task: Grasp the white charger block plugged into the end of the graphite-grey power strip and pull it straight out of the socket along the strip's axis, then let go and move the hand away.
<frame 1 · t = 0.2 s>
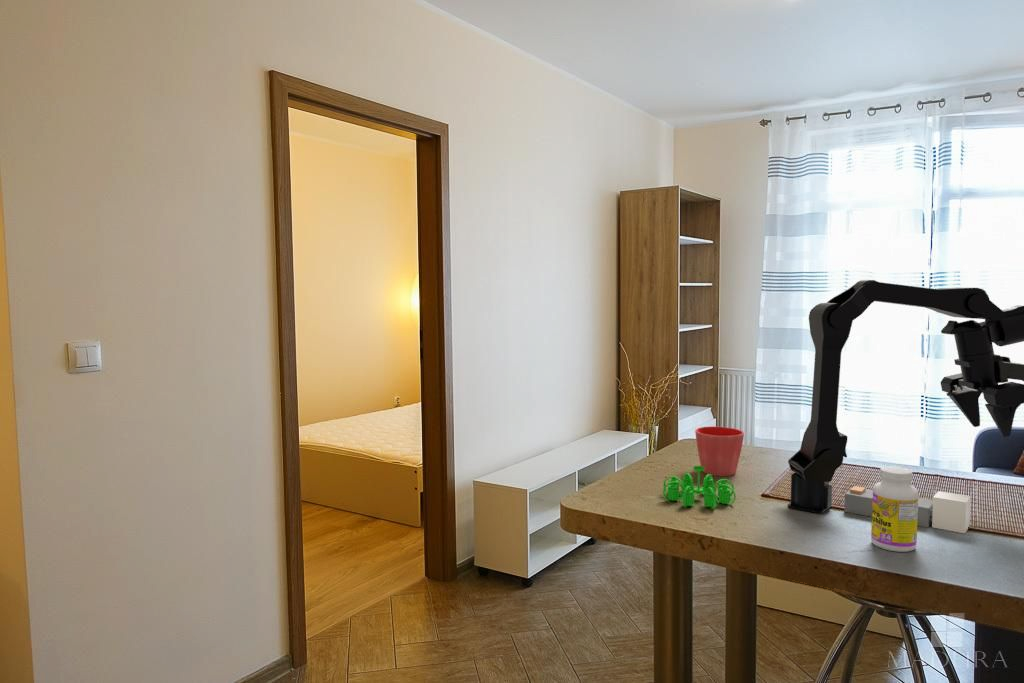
hand: (991, 431, 135), 15 cm above the table, tool pointing down, fingers open, 9 cm apart
power strip: (888, 515, 133), on the table
chandelier: (698, 501, 143), on the table
supplement bottle: (893, 547, 117), on the table
charger: (942, 510, 127), point 3 cm above the table, slide at 0.0 cm
flower pot: (718, 472, 164), on the table
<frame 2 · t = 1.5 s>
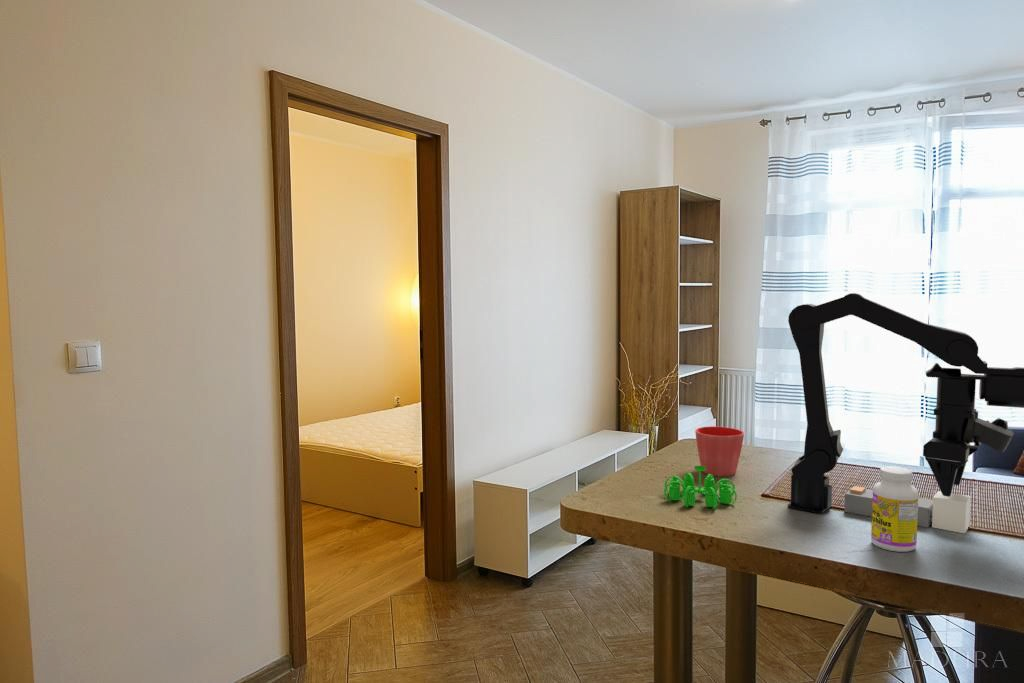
hand: (951, 490, 126), 7 cm above the table, tool pointing down, fingers open, 9 cm apart
nothing on the table moved.
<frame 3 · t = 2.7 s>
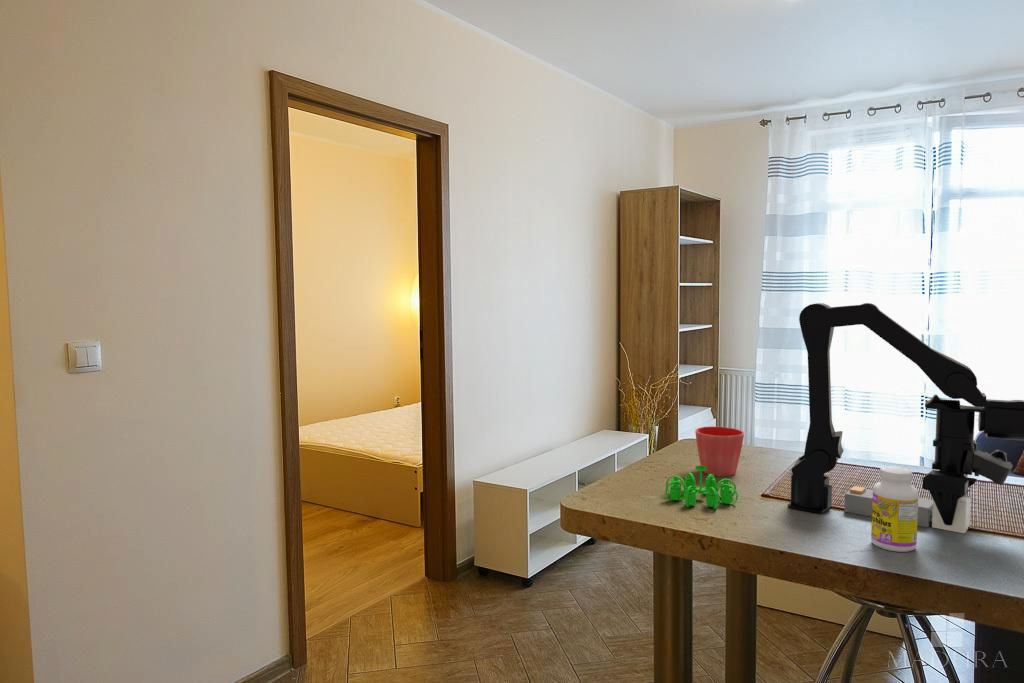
hand: (950, 521, 126), 1 cm above the table, tool pointing down, fingers closed on charger, 5 cm apart
charger: (942, 510, 127), point 3 cm above the table, slide at 0.0 cm, touching gripper
everything else where it was.
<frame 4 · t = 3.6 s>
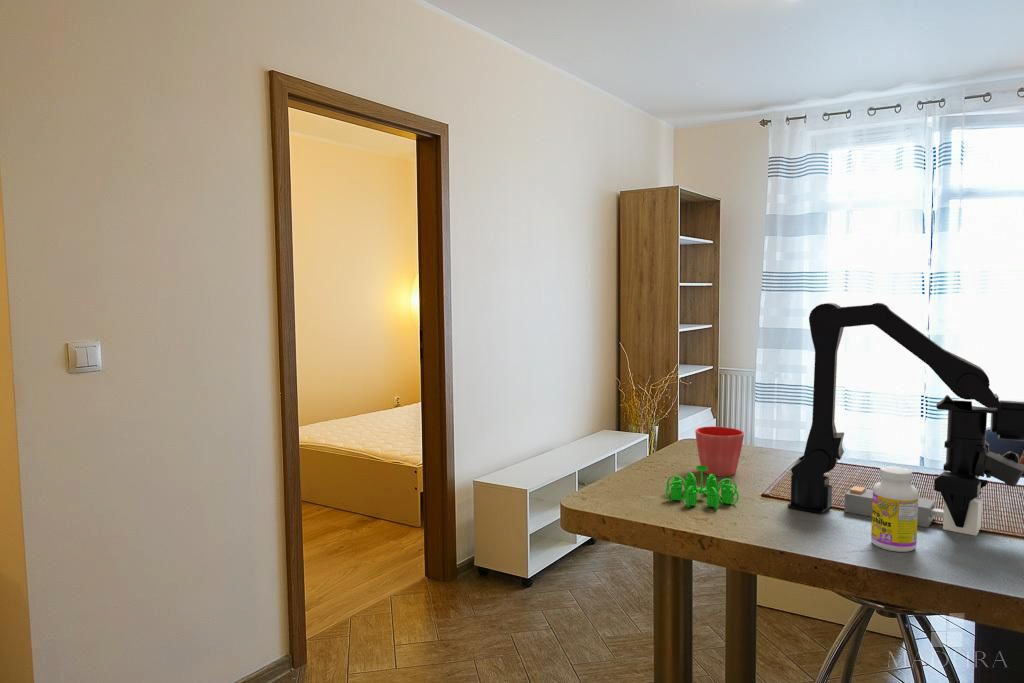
hand: (962, 523, 125), 1 cm above the table, tool pointing down, fingers closed on charger, 5 cm apart
charger: (954, 512, 126), point 3 cm above the table, slide at 1.7 cm, touching gripper
everything else where it was.
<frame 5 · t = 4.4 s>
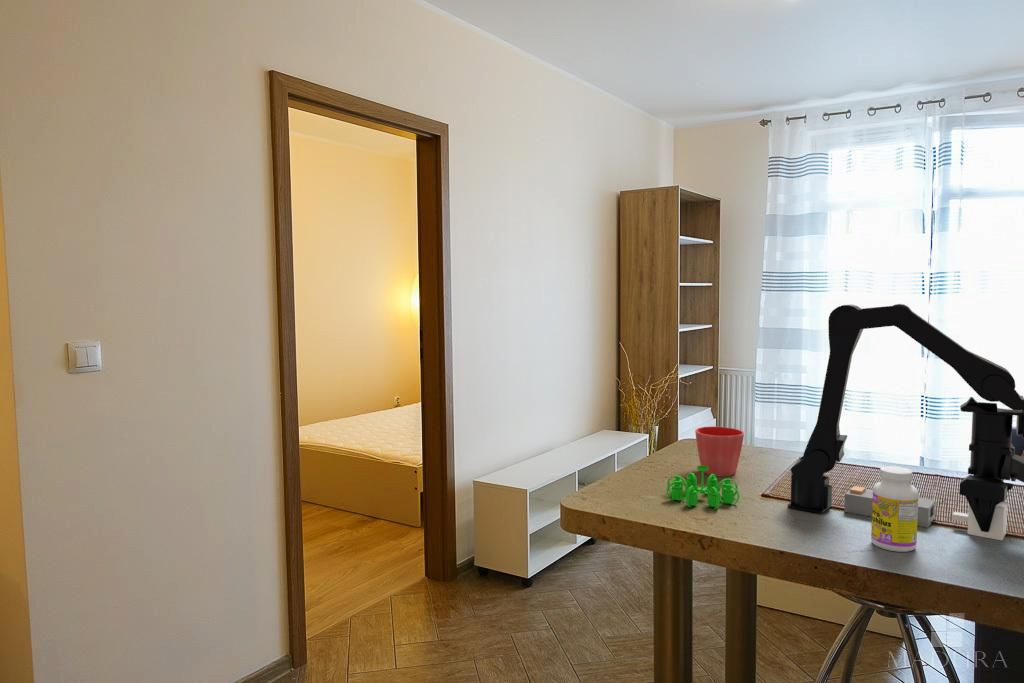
hand: (987, 527, 122), 1 cm above the table, tool pointing down, fingers closed on charger, 5 cm apart
charger: (978, 516, 123), point 3 cm above the table, slide at 5.4 cm, touching gripper
everything else where it was.
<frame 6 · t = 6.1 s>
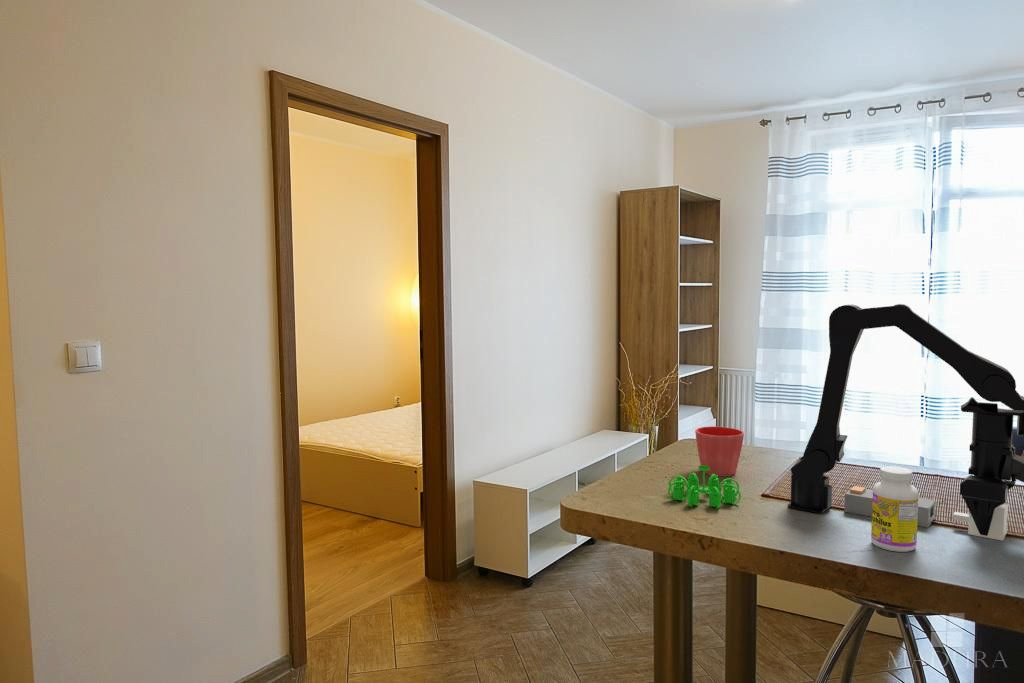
hand: (987, 527, 122), 1 cm above the table, tool pointing down, fingers open, 9 cm apart
charger: (979, 516, 123), point 3 cm above the table, slide at 5.5 cm
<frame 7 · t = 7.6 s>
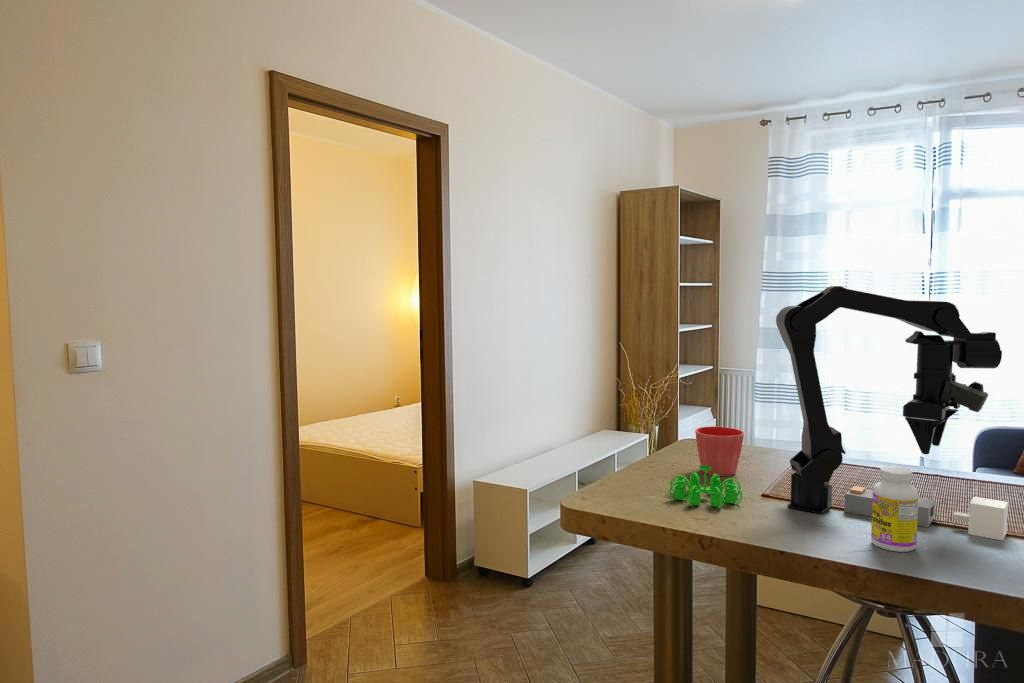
hand: (930, 449, 134), 12 cm above the table, tool pointing down, fingers open, 9 cm apart
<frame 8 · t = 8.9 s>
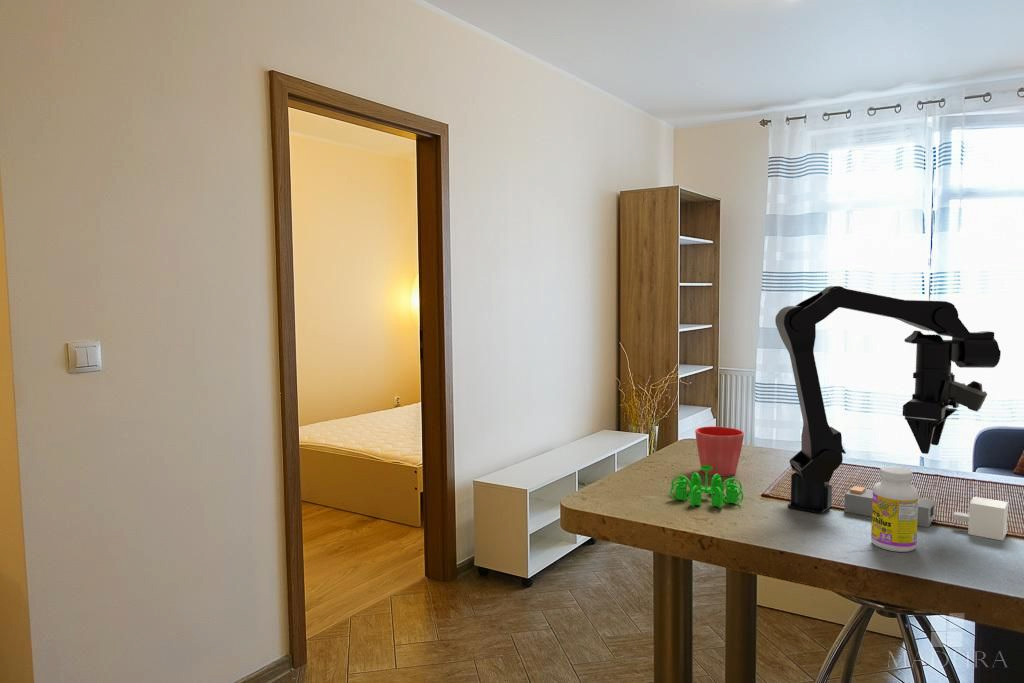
hand: (930, 449, 134), 12 cm above the table, tool pointing down, fingers open, 9 cm apart
at the end: charger slide at 5.5 cm; the gripper is holding nothing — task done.
